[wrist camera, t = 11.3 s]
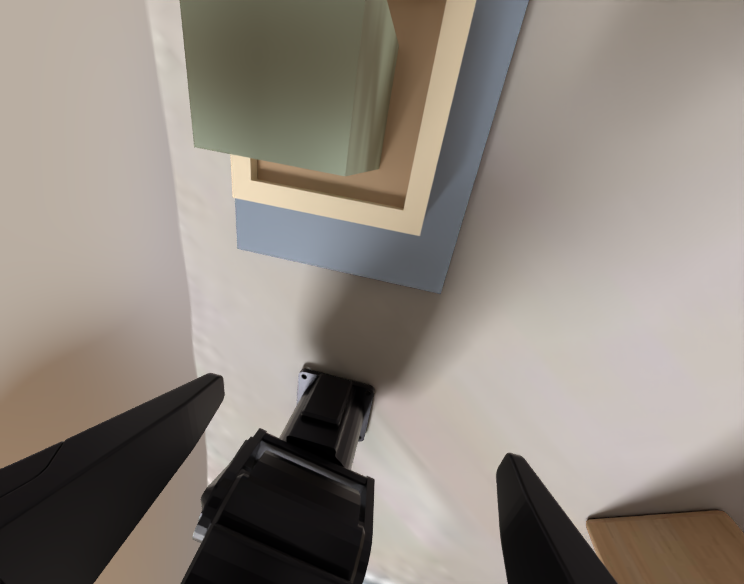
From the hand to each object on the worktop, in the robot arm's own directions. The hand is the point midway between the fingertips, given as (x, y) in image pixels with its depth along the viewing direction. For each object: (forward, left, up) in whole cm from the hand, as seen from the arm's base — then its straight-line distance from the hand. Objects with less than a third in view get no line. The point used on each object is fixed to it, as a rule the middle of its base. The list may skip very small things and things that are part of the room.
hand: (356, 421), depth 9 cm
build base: (+9, +4, -12) cm, 16 cm away
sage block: (+9, +4, -8) cm, 13 cm away
